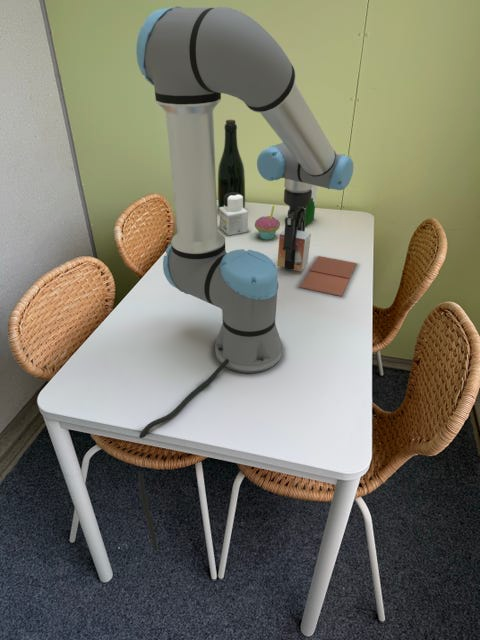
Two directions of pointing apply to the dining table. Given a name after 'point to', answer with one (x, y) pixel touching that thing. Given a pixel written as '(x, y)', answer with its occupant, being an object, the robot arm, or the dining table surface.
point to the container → (233, 214)
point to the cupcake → (267, 226)
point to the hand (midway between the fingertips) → (292, 264)
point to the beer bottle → (230, 166)
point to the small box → (296, 250)
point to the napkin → (329, 276)
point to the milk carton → (311, 206)
